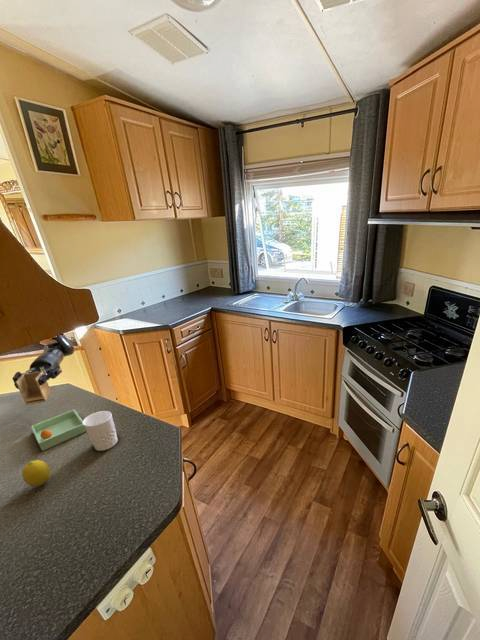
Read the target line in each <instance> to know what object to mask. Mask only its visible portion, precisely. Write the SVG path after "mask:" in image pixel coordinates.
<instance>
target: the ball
mask: <svg viewBox="0 0 480 640" xmlns="http://www.w3.org/2000/svg"><path fill="white" fill-rule="evenodd" d="M51 435H52V432H51V431H50V430H44V431H42V432H41V435H40V436H41V438H43V439H48V438H50V437H51Z"/></svg>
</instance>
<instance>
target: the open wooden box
mask: <svg viewBox="0 0 480 640" xmlns="http://www.w3.org/2000/svg"><path fill="white" fill-rule="evenodd" d="M41 375H43V371H41V372H35V373H29V374H23V375H22V376H21V377H20V378H19V379H18V380H17V381H16V384H17V386H18V389H17V390H19V393H20V394H21V397H22V400H23V401H24V403H25V405H26V406H30V405H36V404H40V403H47V401H48V400H49V398H50V397H51V396H52V394H53V392H52V390H51V388H50V385H49V383H48V380H47V381H46V382H45V383H44V384H43V385H39V382H38V379H39V378H40V377H41Z"/></svg>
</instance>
